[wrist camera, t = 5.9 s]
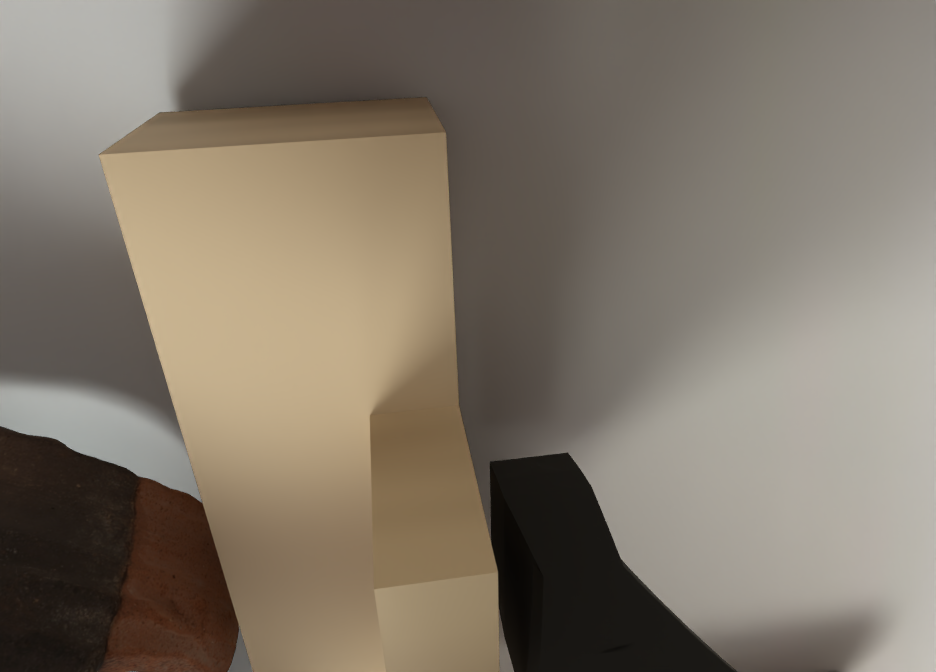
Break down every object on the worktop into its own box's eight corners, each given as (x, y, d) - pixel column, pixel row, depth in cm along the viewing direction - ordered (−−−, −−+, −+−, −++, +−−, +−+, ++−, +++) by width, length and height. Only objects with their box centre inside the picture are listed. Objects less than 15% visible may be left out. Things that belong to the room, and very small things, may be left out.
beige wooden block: (461, 683, 13) (504, 976, 9) (306, 708, 13) (284, 1023, 9) (426, 96, 8) (491, 216, 4) (158, 112, 7) (-52, 258, 4)
